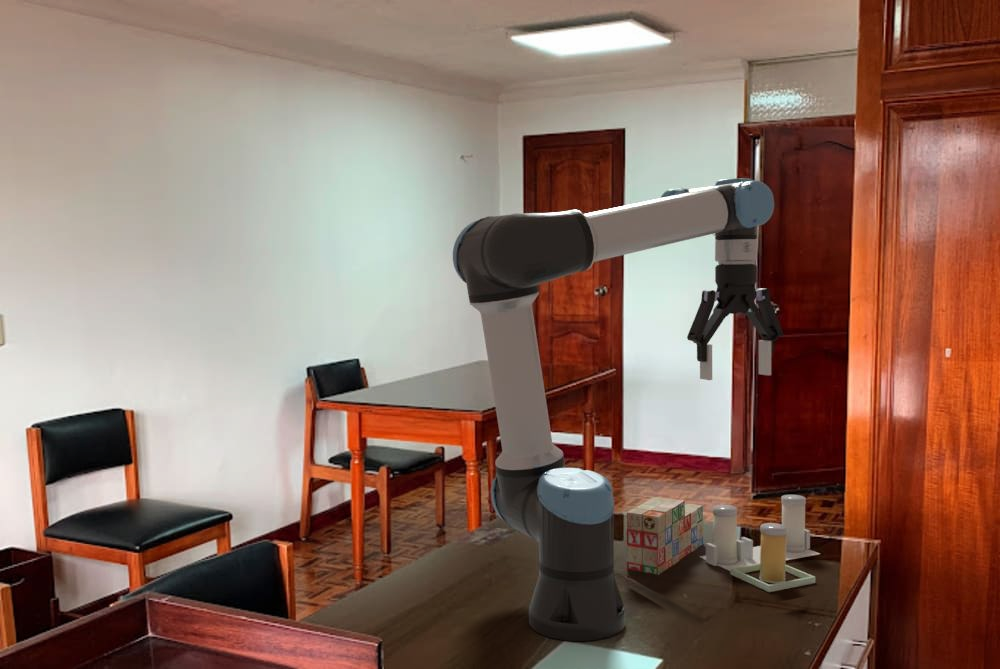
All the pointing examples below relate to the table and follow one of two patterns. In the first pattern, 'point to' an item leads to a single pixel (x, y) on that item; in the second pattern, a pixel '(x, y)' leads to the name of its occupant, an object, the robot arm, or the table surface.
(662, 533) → the stack of blocks
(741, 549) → the fuse panel
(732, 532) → the ball
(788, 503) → the fuse cream far
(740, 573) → the tray
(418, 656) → the table surface
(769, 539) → the fuse amber
